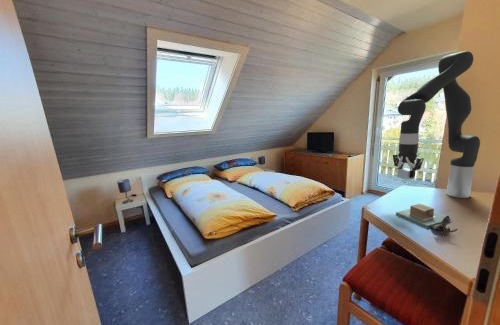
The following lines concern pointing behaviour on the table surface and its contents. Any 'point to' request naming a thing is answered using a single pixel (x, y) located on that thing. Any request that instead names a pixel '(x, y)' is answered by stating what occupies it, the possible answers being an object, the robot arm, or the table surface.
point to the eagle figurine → (444, 226)
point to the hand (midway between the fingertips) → (405, 176)
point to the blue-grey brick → (404, 173)
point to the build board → (425, 223)
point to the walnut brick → (422, 211)
